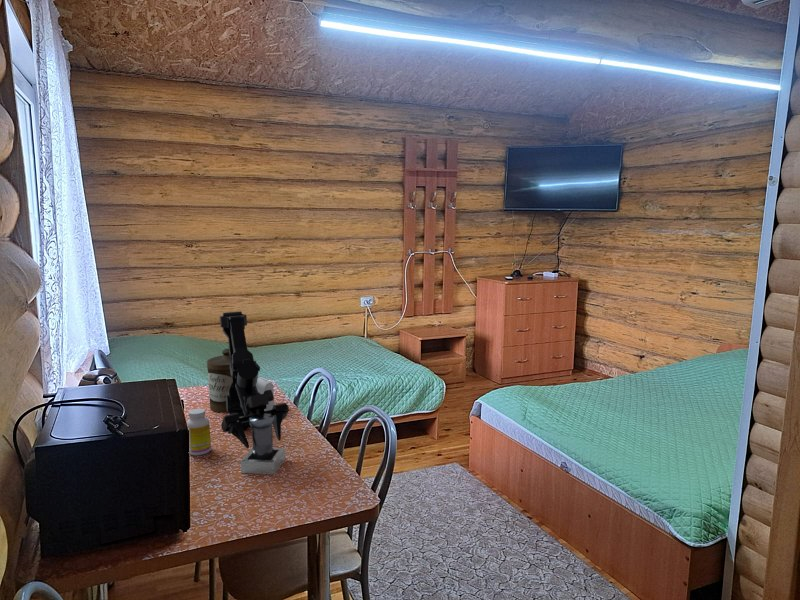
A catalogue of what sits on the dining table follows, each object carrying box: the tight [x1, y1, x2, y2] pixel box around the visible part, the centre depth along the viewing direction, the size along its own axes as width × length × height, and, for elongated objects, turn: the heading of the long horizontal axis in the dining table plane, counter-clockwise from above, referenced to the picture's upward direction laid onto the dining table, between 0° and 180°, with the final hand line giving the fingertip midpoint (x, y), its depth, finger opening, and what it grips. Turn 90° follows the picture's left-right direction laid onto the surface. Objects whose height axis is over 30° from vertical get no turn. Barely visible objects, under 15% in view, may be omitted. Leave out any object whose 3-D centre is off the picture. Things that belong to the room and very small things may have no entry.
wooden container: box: [206, 348, 232, 414], centre depth 210 cm, size 15×15×22 cm
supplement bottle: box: [186, 408, 212, 456], centre depth 171 cm, size 7×7×13 cm
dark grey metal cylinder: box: [249, 414, 274, 460], centre depth 160 cm, size 7×7×14 cm
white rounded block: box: [256, 377, 275, 411], centre depth 205 cm, size 10×4×12 cm, turn 48°
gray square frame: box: [240, 447, 286, 475], centre depth 161 cm, size 10×10×4 cm
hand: (264, 443), depth 159 cm, fingers open, 9 cm apart
